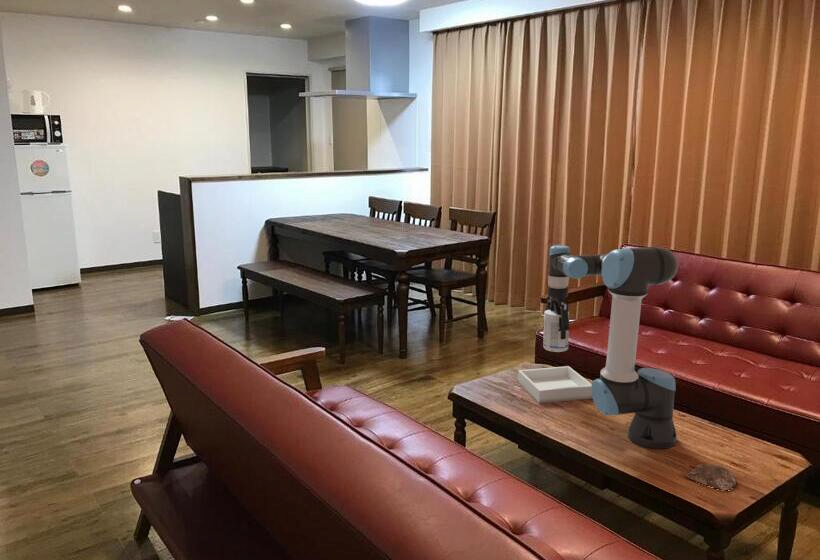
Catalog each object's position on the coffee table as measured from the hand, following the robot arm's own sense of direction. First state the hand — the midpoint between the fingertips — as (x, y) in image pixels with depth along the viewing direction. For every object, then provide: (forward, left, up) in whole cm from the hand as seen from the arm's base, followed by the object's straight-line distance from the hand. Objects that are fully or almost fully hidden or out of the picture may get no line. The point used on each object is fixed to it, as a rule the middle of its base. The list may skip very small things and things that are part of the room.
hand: (555, 342), depth 253 cm
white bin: (0, 0, -20) cm, 20 cm away
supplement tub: (0, 0, -3) cm, 3 cm away
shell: (-73, -17, -20) cm, 78 cm away
